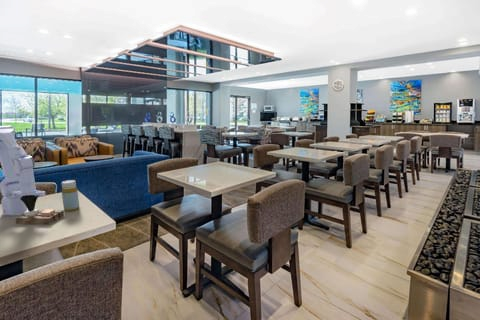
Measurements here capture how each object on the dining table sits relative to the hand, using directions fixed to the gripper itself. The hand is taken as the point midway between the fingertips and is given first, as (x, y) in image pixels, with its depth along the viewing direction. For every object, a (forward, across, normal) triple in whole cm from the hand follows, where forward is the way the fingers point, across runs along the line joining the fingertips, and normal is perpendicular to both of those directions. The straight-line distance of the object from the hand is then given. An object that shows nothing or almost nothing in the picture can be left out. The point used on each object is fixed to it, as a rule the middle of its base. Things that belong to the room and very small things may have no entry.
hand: (31, 210), depth 133 cm
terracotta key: (+3, +8, 0) cm, 9 cm away
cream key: (+3, 0, 0) cm, 3 cm away
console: (+5, +4, 0) cm, 6 cm away
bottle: (+5, +10, +14) cm, 18 cm away
